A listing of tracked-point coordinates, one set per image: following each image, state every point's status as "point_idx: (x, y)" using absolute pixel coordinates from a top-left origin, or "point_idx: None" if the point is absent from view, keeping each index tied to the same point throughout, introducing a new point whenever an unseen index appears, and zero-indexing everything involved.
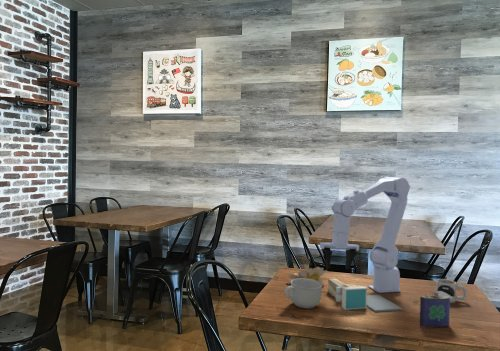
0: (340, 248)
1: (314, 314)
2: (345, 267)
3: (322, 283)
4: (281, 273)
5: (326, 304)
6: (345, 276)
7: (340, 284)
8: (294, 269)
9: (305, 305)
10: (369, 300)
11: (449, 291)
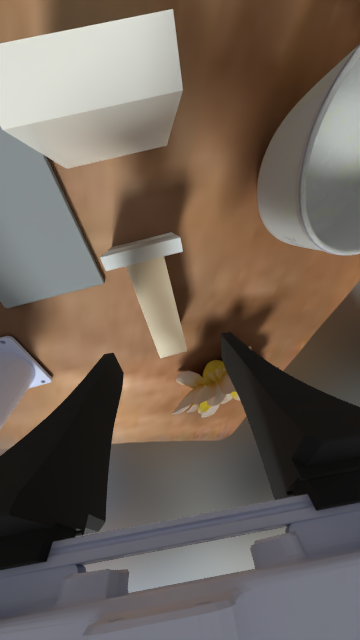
0: (173, 535)
1: (318, 19)
2: (122, 378)
3: (183, 372)
4: (245, 414)
5: (217, 194)
6: (114, 428)
7: (155, 290)
8: (213, 435)
9: (341, 97)
10: (36, 230)
11: None
